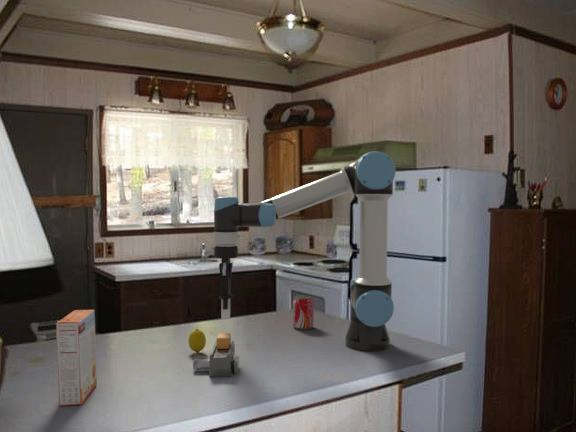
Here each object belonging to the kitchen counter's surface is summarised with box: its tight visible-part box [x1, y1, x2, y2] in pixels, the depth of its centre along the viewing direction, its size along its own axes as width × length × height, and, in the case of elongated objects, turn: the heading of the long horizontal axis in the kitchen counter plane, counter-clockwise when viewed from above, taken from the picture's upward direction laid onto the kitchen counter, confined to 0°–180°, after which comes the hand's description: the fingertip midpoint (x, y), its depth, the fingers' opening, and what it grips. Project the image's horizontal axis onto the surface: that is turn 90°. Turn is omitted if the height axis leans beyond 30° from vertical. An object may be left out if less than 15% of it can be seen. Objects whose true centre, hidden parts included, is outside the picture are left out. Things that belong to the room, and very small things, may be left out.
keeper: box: [216, 333, 232, 349], centre depth 160 cm, size 4×6×3 cm, turn 1°
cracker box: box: [55, 309, 98, 407], centre depth 136 cm, size 14×6×21 cm, turn 5°
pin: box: [192, 354, 240, 374], centre depth 155 cm, size 13×6×3 cm, turn 91°
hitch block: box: [208, 340, 236, 378], centre depth 157 cm, size 6×14×6 cm, turn 1°
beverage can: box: [292, 294, 315, 331], centre depth 205 cm, size 8×8×12 cm
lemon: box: [188, 328, 207, 354], centre depth 172 cm, size 6×6×8 cm
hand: (225, 318), depth 169 cm, fingers closed
